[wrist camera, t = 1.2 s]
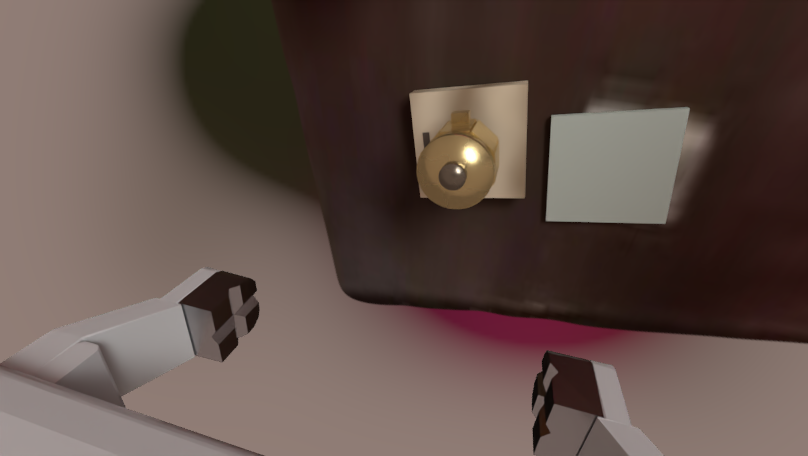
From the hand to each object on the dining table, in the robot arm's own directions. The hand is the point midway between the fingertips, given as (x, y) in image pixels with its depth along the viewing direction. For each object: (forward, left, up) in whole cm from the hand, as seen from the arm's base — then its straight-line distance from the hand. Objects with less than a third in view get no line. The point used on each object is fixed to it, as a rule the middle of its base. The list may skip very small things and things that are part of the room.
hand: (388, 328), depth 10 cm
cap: (+2, +2, -25) cm, 25 cm away
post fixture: (+2, +2, -29) cm, 29 cm away
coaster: (-10, +5, -29) cm, 31 cm away
